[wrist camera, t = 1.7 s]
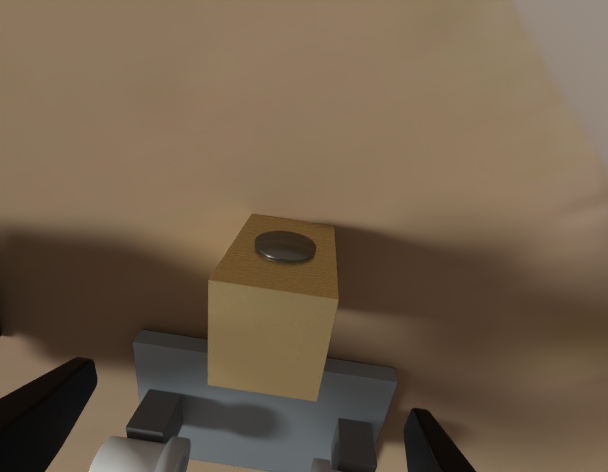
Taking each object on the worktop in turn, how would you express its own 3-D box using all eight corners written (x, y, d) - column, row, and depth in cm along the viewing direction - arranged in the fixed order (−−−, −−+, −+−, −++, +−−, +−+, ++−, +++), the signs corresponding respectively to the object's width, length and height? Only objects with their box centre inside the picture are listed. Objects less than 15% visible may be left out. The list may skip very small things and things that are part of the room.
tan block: (319, 304, 17) (316, 404, 11) (246, 293, 17) (207, 387, 11) (334, 223, 15) (339, 295, 9) (252, 210, 15) (208, 275, 9)
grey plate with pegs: (153, 437, 22) (95, 550, 17) (142, 329, 18) (60, 431, 13) (359, 469, 22) (370, 593, 17) (394, 368, 18) (424, 487, 13)
